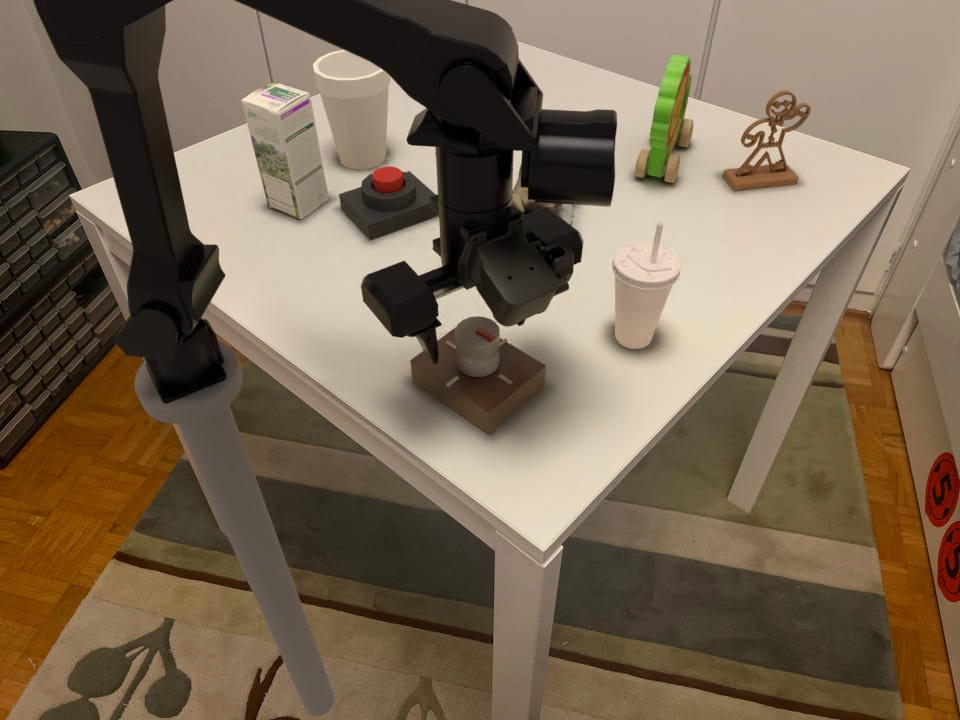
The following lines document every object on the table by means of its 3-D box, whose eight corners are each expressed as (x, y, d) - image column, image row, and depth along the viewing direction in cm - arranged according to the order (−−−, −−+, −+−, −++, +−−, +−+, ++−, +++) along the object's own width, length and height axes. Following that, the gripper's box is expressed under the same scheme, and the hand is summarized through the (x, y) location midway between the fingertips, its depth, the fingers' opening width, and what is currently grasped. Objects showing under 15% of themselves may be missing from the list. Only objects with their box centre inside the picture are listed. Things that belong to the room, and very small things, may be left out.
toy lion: (654, 134, 107) (672, 25, 96) (692, 140, 106) (715, 31, 95) (627, 189, 97) (644, 74, 86) (669, 198, 95) (692, 82, 84)
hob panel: (411, 382, 72) (409, 359, 70) (468, 339, 77) (468, 316, 74) (488, 435, 68) (488, 412, 65) (545, 386, 72) (547, 363, 70)
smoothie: (649, 366, 74) (674, 251, 64) (591, 343, 76) (606, 228, 66) (674, 329, 77) (701, 215, 68) (617, 308, 80) (635, 195, 70)
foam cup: (398, 140, 106) (390, 48, 97) (395, 174, 100) (386, 79, 91) (331, 141, 106) (317, 49, 97) (324, 175, 100) (307, 80, 90)
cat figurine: (483, 241, 90) (484, 203, 86) (499, 180, 97) (501, 142, 92) (566, 253, 89) (572, 215, 84) (577, 190, 96) (582, 152, 91)
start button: (382, 197, 89) (380, 184, 88) (368, 184, 91) (367, 171, 90) (408, 188, 90) (407, 176, 89) (394, 175, 93) (393, 163, 91)
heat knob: (447, 363, 70) (445, 329, 67) (476, 341, 72) (475, 307, 69) (479, 384, 68) (478, 349, 65) (507, 361, 70) (508, 327, 67)
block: (369, 240, 89) (366, 211, 86) (341, 209, 94) (336, 181, 91) (441, 214, 93) (440, 186, 90) (410, 185, 98) (408, 158, 95)
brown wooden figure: (733, 191, 96) (757, 102, 88) (721, 175, 99) (743, 87, 90) (797, 183, 97) (827, 95, 89) (783, 168, 100) (811, 81, 92)
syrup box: (331, 199, 95) (312, 90, 85) (299, 222, 92) (276, 110, 82) (297, 187, 98) (275, 78, 87) (265, 208, 94) (238, 98, 84)
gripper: (421, 291, 49) (433, 443, 60) (638, 204, 56) (613, 354, 67) (346, 211, 55) (369, 361, 66) (549, 143, 63) (539, 288, 74)
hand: (476, 341), depth 68 cm, fingers open, 9 cm apart
